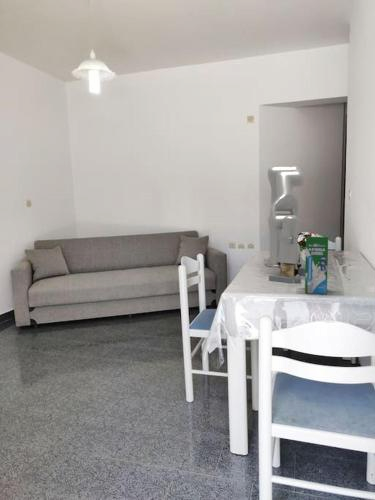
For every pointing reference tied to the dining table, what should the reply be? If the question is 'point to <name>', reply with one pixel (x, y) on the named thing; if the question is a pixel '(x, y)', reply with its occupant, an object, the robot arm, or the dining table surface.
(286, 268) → the block
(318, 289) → the milk carton
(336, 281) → the dining table surface
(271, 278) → the bay
